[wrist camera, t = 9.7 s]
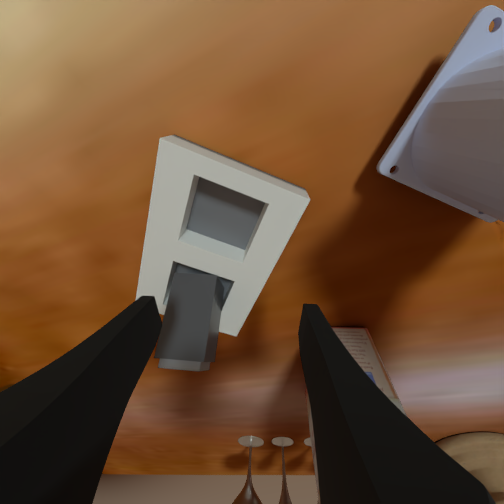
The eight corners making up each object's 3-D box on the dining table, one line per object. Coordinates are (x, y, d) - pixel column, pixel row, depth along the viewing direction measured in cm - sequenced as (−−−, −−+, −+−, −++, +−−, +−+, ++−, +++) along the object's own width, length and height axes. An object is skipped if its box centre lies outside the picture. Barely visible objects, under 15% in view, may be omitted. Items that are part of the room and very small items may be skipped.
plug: (217, 274, 18) (202, 371, 16) (224, 287, 22) (213, 370, 19) (174, 272, 19) (151, 367, 16) (187, 285, 22) (171, 366, 19)
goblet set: (402, 434, 37) (462, 577, 25) (395, 448, 40) (447, 583, 28) (232, 433, 40) (218, 559, 29) (238, 447, 43) (227, 566, 32)
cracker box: (310, 323, 25) (426, 880, 7) (368, 324, 24) (653, 919, 6) (301, 393, 32) (345, 749, 14) (345, 394, 31) (448, 763, 14)
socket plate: (305, 188, 17) (310, 199, 15) (239, 317, 25) (236, 336, 22) (174, 134, 16) (159, 137, 14) (146, 288, 23) (134, 306, 21)
